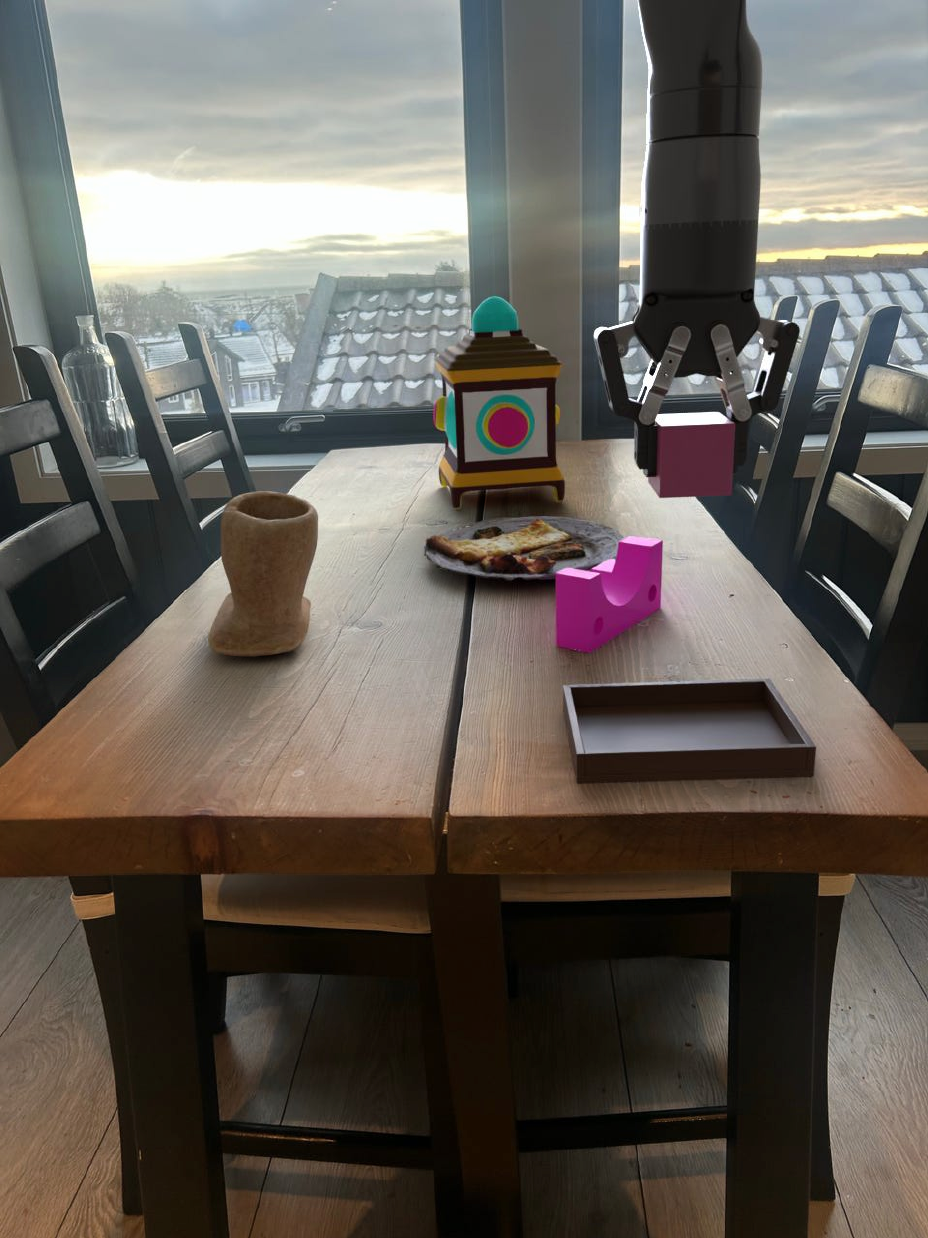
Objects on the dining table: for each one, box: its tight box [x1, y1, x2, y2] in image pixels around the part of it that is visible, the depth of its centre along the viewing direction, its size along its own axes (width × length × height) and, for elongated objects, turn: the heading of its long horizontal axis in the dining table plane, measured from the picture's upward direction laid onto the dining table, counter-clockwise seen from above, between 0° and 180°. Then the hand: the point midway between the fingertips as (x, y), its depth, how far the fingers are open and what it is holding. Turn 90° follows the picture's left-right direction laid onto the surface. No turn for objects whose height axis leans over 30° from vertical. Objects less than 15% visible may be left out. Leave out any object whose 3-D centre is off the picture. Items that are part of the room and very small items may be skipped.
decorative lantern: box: [433, 295, 566, 511], centre depth 154 cm, size 20×20×30 cm
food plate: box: [423, 515, 626, 583], centre depth 124 cm, size 25×23×4 cm
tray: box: [562, 678, 817, 784], centre depth 78 cm, size 17×12×2 cm
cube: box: [647, 411, 735, 499], centre depth 71 cm, size 5×5×5 cm
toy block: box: [555, 535, 664, 654], centre depth 102 cm, size 15×6×8 cm, turn 143°
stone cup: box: [207, 490, 319, 657], centre depth 101 cm, size 15×12×15 cm
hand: (689, 472), depth 71 cm, fingers closed on cube, 5 cm apart
